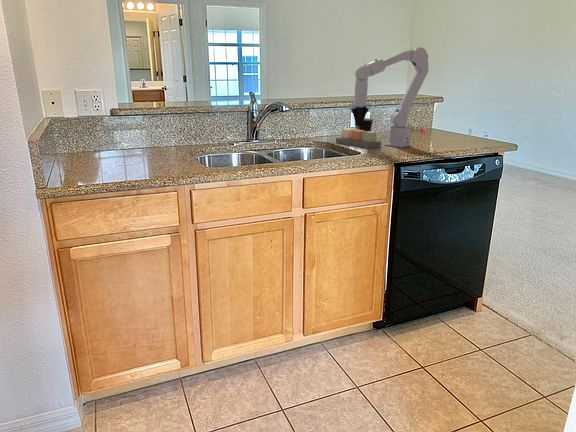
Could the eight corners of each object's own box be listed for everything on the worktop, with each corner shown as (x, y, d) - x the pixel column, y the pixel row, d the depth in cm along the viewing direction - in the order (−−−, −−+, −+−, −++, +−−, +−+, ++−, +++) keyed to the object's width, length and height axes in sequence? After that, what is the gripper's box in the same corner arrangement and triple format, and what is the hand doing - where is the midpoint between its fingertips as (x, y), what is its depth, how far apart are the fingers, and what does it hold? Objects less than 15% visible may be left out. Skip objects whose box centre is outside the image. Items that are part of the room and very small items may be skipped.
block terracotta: (364, 139, 210) (365, 130, 209) (358, 140, 207) (359, 131, 206) (357, 138, 213) (357, 129, 212) (351, 139, 210) (352, 130, 209)
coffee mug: (372, 140, 223) (374, 120, 219) (355, 140, 223) (356, 120, 219) (369, 136, 233) (370, 117, 230) (352, 136, 234) (353, 117, 230)
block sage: (375, 141, 205) (376, 132, 204) (369, 142, 203) (370, 133, 201) (368, 140, 208) (368, 131, 207) (362, 141, 206) (362, 132, 204)
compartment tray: (380, 146, 207) (380, 141, 206) (368, 148, 201) (368, 143, 200) (347, 140, 221) (348, 136, 220) (335, 142, 215) (336, 137, 214)
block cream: (354, 137, 214) (354, 129, 213) (348, 138, 212) (348, 129, 210) (347, 136, 218) (347, 128, 216) (341, 137, 215) (341, 128, 213)
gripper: (364, 92, 211) (362, 121, 215) (343, 93, 201) (342, 124, 206) (375, 93, 206) (373, 123, 210) (355, 94, 196) (354, 125, 201)
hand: (359, 123), depth 208 cm, fingers closed
